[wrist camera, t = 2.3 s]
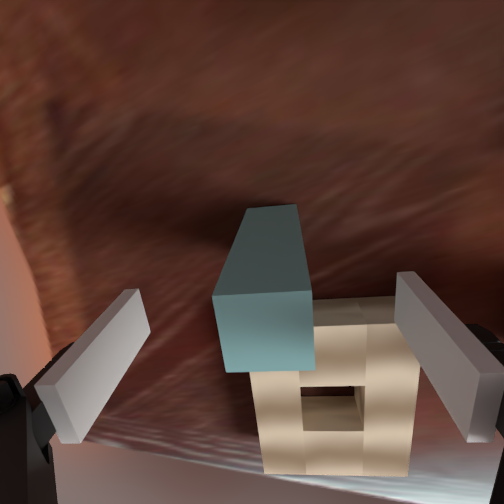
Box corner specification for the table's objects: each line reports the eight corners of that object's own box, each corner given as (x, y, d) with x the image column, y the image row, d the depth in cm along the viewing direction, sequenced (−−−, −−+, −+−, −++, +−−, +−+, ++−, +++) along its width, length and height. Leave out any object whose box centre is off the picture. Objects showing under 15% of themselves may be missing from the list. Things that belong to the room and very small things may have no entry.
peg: (247, 208, 25) (211, 295, 13) (296, 204, 25) (311, 290, 12) (252, 253, 27) (225, 372, 14) (299, 249, 26) (315, 370, 14)
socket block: (248, 303, 29) (243, 329, 25) (405, 295, 27) (425, 322, 23) (266, 437, 36) (264, 473, 32) (393, 438, 34) (407, 476, 30)
